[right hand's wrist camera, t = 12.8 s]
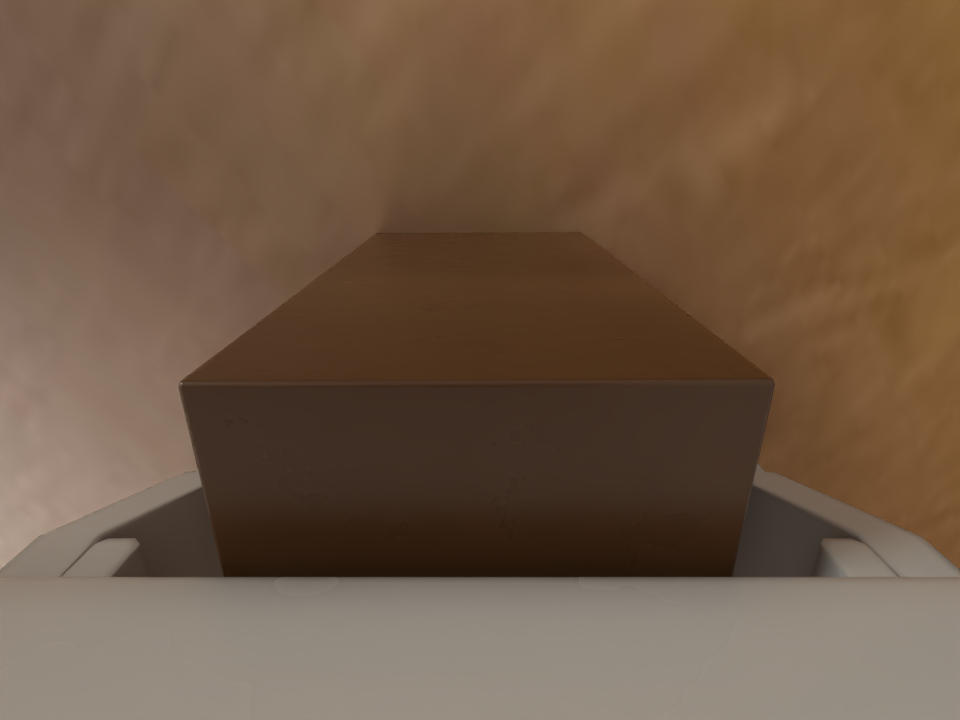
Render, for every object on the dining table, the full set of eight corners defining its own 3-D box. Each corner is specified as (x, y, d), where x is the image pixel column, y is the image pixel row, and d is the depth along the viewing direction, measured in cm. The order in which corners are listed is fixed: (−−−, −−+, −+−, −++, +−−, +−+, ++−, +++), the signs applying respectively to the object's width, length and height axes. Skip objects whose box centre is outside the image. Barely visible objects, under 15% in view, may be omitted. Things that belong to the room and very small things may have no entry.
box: (375, 233, 15) (173, 382, 5) (582, 231, 15) (779, 379, 5) (413, 740, 22) (364, 1179, 13) (549, 740, 22) (600, 1179, 13)
